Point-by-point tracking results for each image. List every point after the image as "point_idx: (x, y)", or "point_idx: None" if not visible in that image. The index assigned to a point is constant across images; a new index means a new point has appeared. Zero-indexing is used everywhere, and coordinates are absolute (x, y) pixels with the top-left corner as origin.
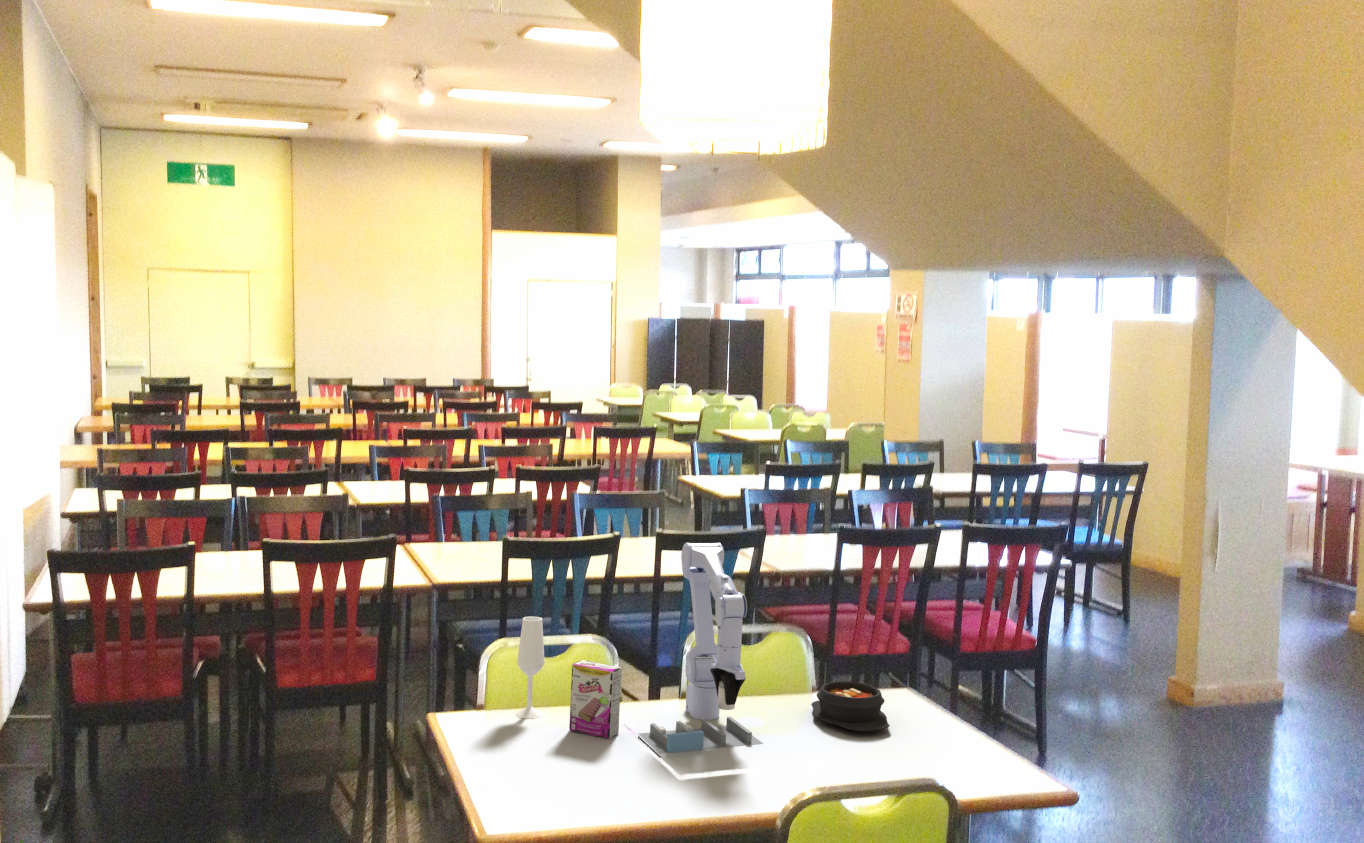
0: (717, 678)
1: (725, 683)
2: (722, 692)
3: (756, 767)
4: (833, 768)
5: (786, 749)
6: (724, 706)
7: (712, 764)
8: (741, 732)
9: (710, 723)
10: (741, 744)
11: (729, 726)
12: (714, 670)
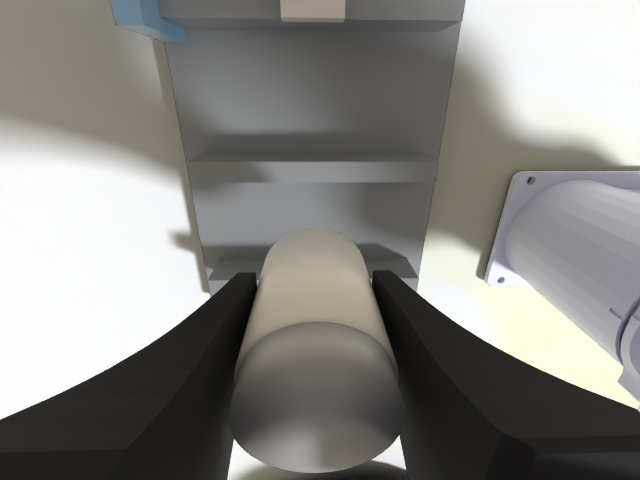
0: (436, 384)
1: (74, 394)
2: (270, 303)
3: (11, 200)
4: (33, 391)
5: None
6: (269, 257)
7: (24, 27)
8: None
9: (365, 177)
10: (211, 234)
11: (381, 263)
12: (545, 477)
